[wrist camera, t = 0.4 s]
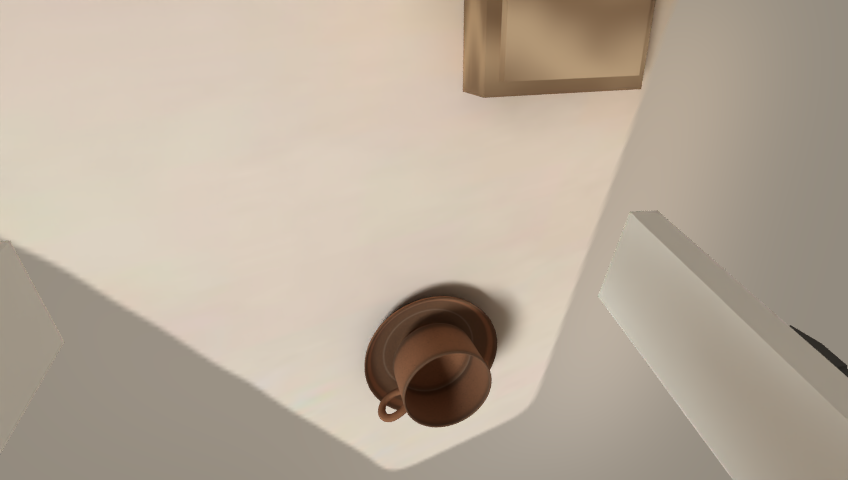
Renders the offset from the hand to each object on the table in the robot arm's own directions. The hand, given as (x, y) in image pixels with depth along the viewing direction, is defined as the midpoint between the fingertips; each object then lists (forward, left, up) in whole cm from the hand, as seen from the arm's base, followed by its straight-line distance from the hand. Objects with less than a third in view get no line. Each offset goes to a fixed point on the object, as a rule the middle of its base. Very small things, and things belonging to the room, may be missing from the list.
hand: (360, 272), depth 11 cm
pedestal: (-7, +17, -24) cm, 30 cm away
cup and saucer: (+21, +8, -24) cm, 33 cm away
